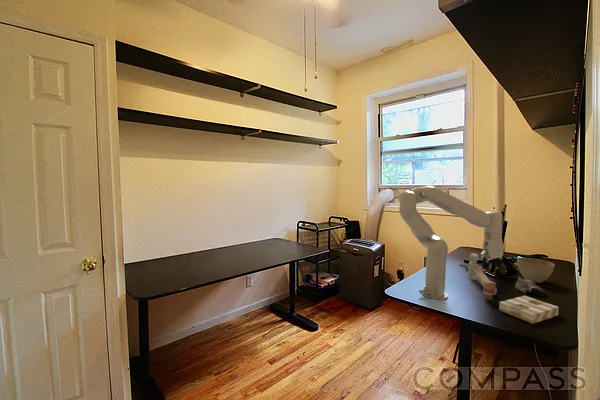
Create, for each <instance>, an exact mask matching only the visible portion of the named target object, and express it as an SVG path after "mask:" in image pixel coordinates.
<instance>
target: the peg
mask: <svg viewBox="0 0 600 400" xmlns="http://www.w3.org/2000/svg"><path fill="white" fill-rule="evenodd" d="M496 289H497V283H496V282H494V281H492V280H489V281H484V283H483V286H482V292H483V293H484V294H485V297H484V298H485V299H486V300H487V301H492V300H493V296H495V295H496V294H497V292H496Z"/></svg>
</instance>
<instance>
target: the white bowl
mask: <svg viewBox="0 0 600 400" xmlns="http://www.w3.org/2000/svg"><path fill="white" fill-rule="evenodd" d="M516 263H517V264H518V266H517V269H519V270H518V271H519V272H520V274H521V275H522V277H523V279H524V280H531V281H533V282H534V283H544V281H546V280H548V279H549V277H551V275H552V273H553V272H554V268H555V264H554V263H553V262H550V261H548V260H547V261H546V260H544V259H543V260H542V259H537V258H530V257H518V258H517V259H516Z"/></svg>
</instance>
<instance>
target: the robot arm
mask: <svg viewBox="0 0 600 400" xmlns="http://www.w3.org/2000/svg"><path fill="white" fill-rule="evenodd" d="M398 201H399V214H400V217H401V219H402V220H403V221H404V222H405V224H406V225H407V226H408V228H410V231H411V233H412V235H413V236H414V237H415V238H416V239H417V240H418V241H419V243H420V244H421V245H422V246H423V247H424V248H425V250H427V254H426V259H425V260H426V261H425V281H424V282H425V285H424V286H423V288H422V289H418V293H419V294H422V295H423V296H424V297H426V298H429V299H432V300H437V301H438V300H439V301H440V300H441V301H442V300H447V299H448V296H449V295H448V293H446V289H445V288H446V273H447V271H446V269H447V258H448V257H447V256H448V253H449V252H448V251H449V247H448V243H447V242H446V240H444V239H443V238H441V237H440V236H438V235H437V234H436V232H434V230H433V228H432V226H431V224H430V223H428V221H426V220H425V219H424V217H422V215H421V213H419V212H418V210H417V209H418V208H417V204H420V203H425V202H428V203H430V204H432V205H434V206H435V207H437V208H440V209H441V210H443V211H445V212H447V213H449V214H451V215H453V216H457V217H458V218H462V219H464V220H465V221H467V222H468V223H469V224H471V225H473V226H476V227H478V228H484V229H483V241H482V251H481V252H480V253H479V255H480V260H481V262H482V263H481V267H482V269H485V270H487V271H490V262H489V261H490V260H491V259H494V261H493V262H494V263H493V266H494V267H495V268H502V260H503V256H504V252H505V251H504V244H503V243H504V242H503V238H502V237H503V236H502V235H503V233H502V232H503V213H502V212H500V211H484V210H481V209H479V208H477V207H475V206H473V205H471V204H470V203H467V202H466V201H464V200H461V199H459V198H457V197H456V196H453V195H452V194H450V193H447V192H446V191H444V190H442V189H440V188H438V187H436V186H433V185H425V186H421V187H416V188H412V189H408V190H403V191H402V192H401V193H399V196H398Z"/></svg>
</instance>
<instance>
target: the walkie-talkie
mask: <svg viewBox="0 0 600 400" xmlns="http://www.w3.org/2000/svg"><path fill="white" fill-rule="evenodd" d="M458 265H459V267H460V266H461V267H465V268H464V269H465V271H466V272H468V266H469V265H465V264H460V263H459V264H458ZM479 268H480V269H481V271H482V272H483V273H484V274H485V273H486V272H489V273H490V270H485V269H482V266H480V267H479ZM485 275H486V274H485Z"/></svg>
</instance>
